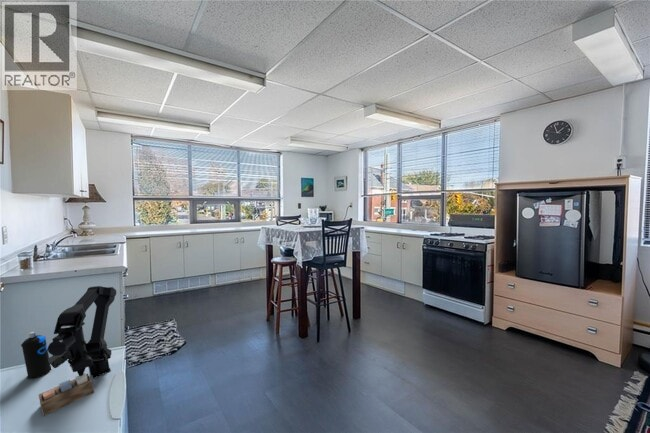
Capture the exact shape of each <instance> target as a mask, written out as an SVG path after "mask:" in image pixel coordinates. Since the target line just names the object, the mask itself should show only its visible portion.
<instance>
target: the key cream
mask: <svg viewBox="0 0 650 433" xmlns="http://www.w3.org/2000/svg"><path fill="white" fill-rule="evenodd" d="M86 374H87V373H83V375H82V376H79V375H77V376H75V378H74V379H76V384H77V386H78V385H80V384H82V383H84V382H87V381H88V380H87V375H86Z"/></svg>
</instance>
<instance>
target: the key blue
mask: <svg viewBox="0 0 650 433" xmlns="http://www.w3.org/2000/svg"><path fill="white" fill-rule="evenodd" d="M58 386H60V391H61V393H62V392H64V391H66V390H69V389H71V388H72V384H71V379H68V380H64V381H63V382H60V383H59V384H58Z"/></svg>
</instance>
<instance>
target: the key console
mask: <svg viewBox="0 0 650 433" xmlns="http://www.w3.org/2000/svg"><path fill="white" fill-rule="evenodd" d="M85 374H86V375H87V380H88V381H87V382H84V383H82V384H80V385H78V386H77V384H76V378H74V379H72V380H71V379H70V381H71V384H72V388H71V389H69V390H66V391H64V392H62V393H61V391H60V385H58V386H55V387H53V388H51V389H54V391H55V396H53V397H50V398H48V399H46V400H44V398H43V393H44V392H47V391H49V390H51V389H49V390H46V391H44V392H41V393H39V394H38V399H39V404H40V407H41V408H40V409H41V412H42V414H43V417H45V416H47V415H49V414H52V413H54V412H56V411H58V410H60V409H63V408H64V407H66V406H69V405H71V404H73V403H75V402H77V401H79V400H81V399H84V398H85V397H88V396H90V395H93V394H94V392H95V391H94V386H93V381H92V379H91V377H90V376H89V374H88V373H85Z"/></svg>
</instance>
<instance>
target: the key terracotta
mask: <svg viewBox="0 0 650 433" xmlns="http://www.w3.org/2000/svg"><path fill="white" fill-rule="evenodd" d="M46 391H47V392H46ZM46 391H44V393H43V392H42V393H43V398H44V400H46V399H48V398H50V397H53V396H55V391H54V389H53V388H51V390H50V389H49V391H48V390H46Z"/></svg>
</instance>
